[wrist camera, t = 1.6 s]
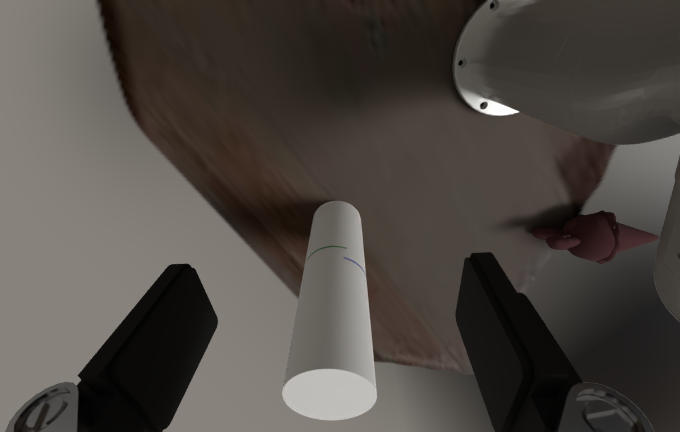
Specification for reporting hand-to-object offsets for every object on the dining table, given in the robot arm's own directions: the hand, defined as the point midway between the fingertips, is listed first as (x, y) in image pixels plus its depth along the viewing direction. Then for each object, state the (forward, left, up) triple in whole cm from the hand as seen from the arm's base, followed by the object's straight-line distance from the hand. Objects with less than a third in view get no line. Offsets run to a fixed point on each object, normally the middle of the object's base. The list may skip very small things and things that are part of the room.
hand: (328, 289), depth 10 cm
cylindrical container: (+3, +15, -30) cm, 33 cm away
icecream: (-33, +20, -30) cm, 49 cm away
